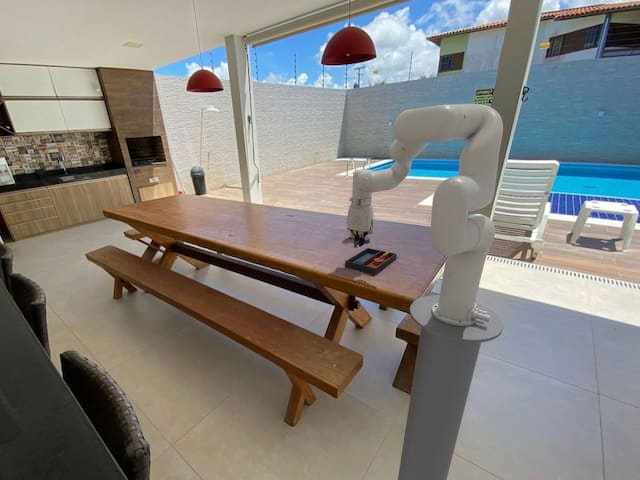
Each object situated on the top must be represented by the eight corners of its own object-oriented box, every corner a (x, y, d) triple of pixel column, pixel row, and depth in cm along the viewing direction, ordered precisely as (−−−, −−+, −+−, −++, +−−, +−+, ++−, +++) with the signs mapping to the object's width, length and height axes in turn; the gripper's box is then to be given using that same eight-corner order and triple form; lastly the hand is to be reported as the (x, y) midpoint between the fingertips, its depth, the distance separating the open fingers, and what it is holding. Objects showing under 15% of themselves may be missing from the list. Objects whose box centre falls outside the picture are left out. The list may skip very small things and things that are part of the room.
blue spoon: (371, 241, 133) (371, 236, 132) (358, 249, 126) (358, 243, 125) (363, 240, 136) (363, 234, 134) (350, 247, 128) (350, 241, 127)
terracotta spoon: (371, 264, 132) (372, 258, 131) (383, 256, 139) (383, 250, 138) (380, 266, 129) (381, 260, 128) (392, 258, 137) (392, 252, 136)
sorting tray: (396, 259, 137) (396, 253, 135) (375, 275, 123) (375, 268, 122) (367, 253, 145) (367, 247, 144) (345, 267, 132) (345, 261, 131)
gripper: (339, 201, 124) (338, 244, 132) (375, 206, 115) (371, 251, 122) (349, 198, 129) (347, 239, 137) (384, 202, 120) (380, 246, 127)
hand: (359, 245), depth 129 cm, fingers closed on blue spoon, 1 cm apart
